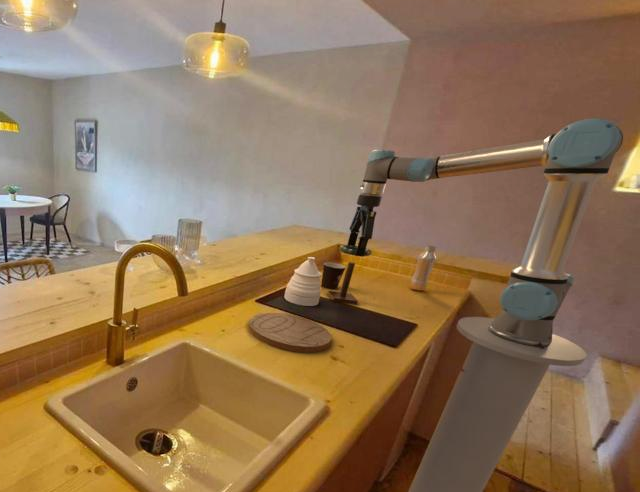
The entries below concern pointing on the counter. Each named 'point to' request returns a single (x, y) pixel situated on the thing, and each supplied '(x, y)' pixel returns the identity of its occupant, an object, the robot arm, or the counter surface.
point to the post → (344, 288)
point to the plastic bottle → (423, 269)
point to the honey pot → (304, 285)
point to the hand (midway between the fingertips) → (354, 252)
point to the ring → (353, 250)
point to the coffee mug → (332, 275)
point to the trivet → (289, 332)
